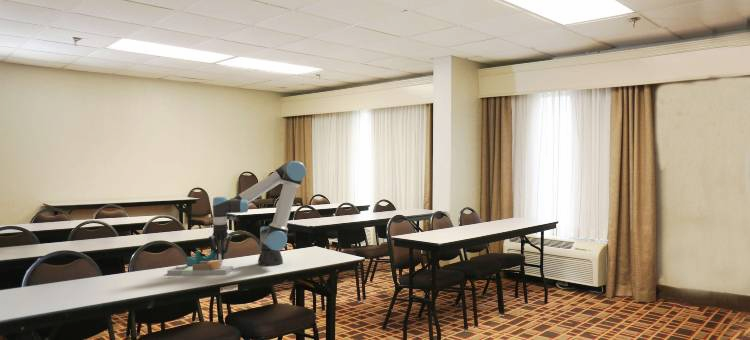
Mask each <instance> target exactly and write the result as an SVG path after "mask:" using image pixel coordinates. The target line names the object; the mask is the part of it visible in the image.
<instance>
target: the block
mask: <svg viewBox="0 0 750 340" xmlns="http://www.w3.org/2000/svg"><path fill="white" fill-rule="evenodd" d="M207 264H211V269H219V268H221V266H219V260H217V259H215V260H211V261H209V262H207Z"/></svg>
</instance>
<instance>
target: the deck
mask: <svg viewBox="0 0 750 340" xmlns="http://www.w3.org/2000/svg"><path fill="white" fill-rule="evenodd" d="M207 262H209V261H200V265H192V266H187V265H186V266H184V265H183V266H175V267H172V268H170V269H168V270H167V271H166V273H167V276H193V275H194V276H205V275H206V276H212V275H213V276H218V275H219V276H221V275H226V276H227V275H228V274H229V273H231V272H232V271H234V266H233V265H222V266H221V268H219V269H211V264H207Z"/></svg>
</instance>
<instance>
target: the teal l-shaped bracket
mask: <svg viewBox="0 0 750 340" xmlns="http://www.w3.org/2000/svg"><path fill="white" fill-rule="evenodd" d="M211 260H216V253H214V252H213V250H211V251H210V253H209V255H207V256H204V255H203V256H202V255H201V251H200V250H195V255H194V256H187V257H186V266H192V265H200V261H211Z"/></svg>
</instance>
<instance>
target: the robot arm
mask: <svg viewBox="0 0 750 340" xmlns="http://www.w3.org/2000/svg"><path fill="white" fill-rule="evenodd" d="M306 168H307V167H306V166H305V164H304V163H303V162H301V161H298V160H292V161H291V160H290V161H286V162H285V163H283V164H282V165H281V166H279V167H277V168H276V169H274V171H273V173H271V174H270V175H268V176H267V177H265V178H263V179H262V180H260V181H259V182H257V183H256V184H254V185H252V186H250V187H249V188H246V190H244V191H243V192H241V193H239V194H238V195H236V196H234V197H232V198H229V199H228V198H227V197H226V196H216V197H213V198H212V217H213V219H212V224H213V225H212V227H213V229H212V231H213V233H212V234H211V235H210V236H208V239H209V241H210V244H211V248H212V251H213V252H214V253H215V255H216V260H219V266H224V260H225V254H226V253H228V252H229V247H230V243H231V240H232V238H233V236H232V235H230V234H229V233H228V224H227V223H228V214H236V213H237V214H238V213H239V214H240V213H241V214H242V213H247V212H249V204H250V203H252V202H253V201H254V200H256V199H257V198H259V197H261V196H263V195H264V194H266V193H267V192H269V191H270V190H272V189H274V188H275V187H277V186H278V185H280V184H281V185H282V188H281V191H280V195H279V198H278V201H277V205H276V209H275V213H274V215H273V219H272V222H271V223H270V224H268V226H261V227H260V229H259V238H260V240H259V241H260V243H259V244H260V245H259V246H260V253H259V256H258V258H257V259H258V260H257V265H258V266H266V267H267V266H279V265H282V264H283V263H284V259H283V256H282V253H281V250H283V249H284V248H285V247H286V245H287V242H288V231H289V229H288V222H289V219H290V215H291V212H292V207H293V204H294V200H295V197H296V193H297V190H298V188H299V187H301V185H302V182H303V180H304V179H305V177H306V174H307V169H306ZM225 241H226V243H225Z"/></svg>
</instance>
